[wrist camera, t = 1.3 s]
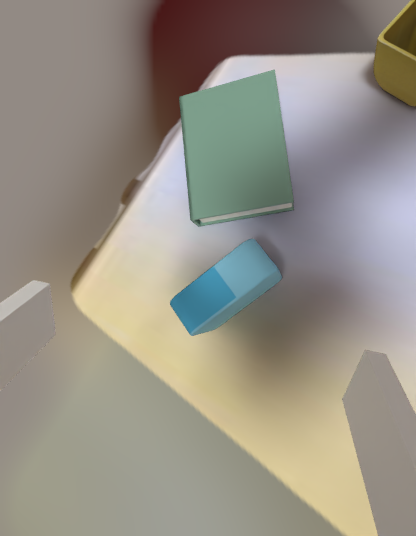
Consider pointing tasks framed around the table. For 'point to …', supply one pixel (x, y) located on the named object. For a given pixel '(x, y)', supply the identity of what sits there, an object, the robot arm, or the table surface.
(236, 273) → the data package
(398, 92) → the flower pot
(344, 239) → the table surface
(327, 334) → the table surface
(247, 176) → the green book
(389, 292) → the table surface
